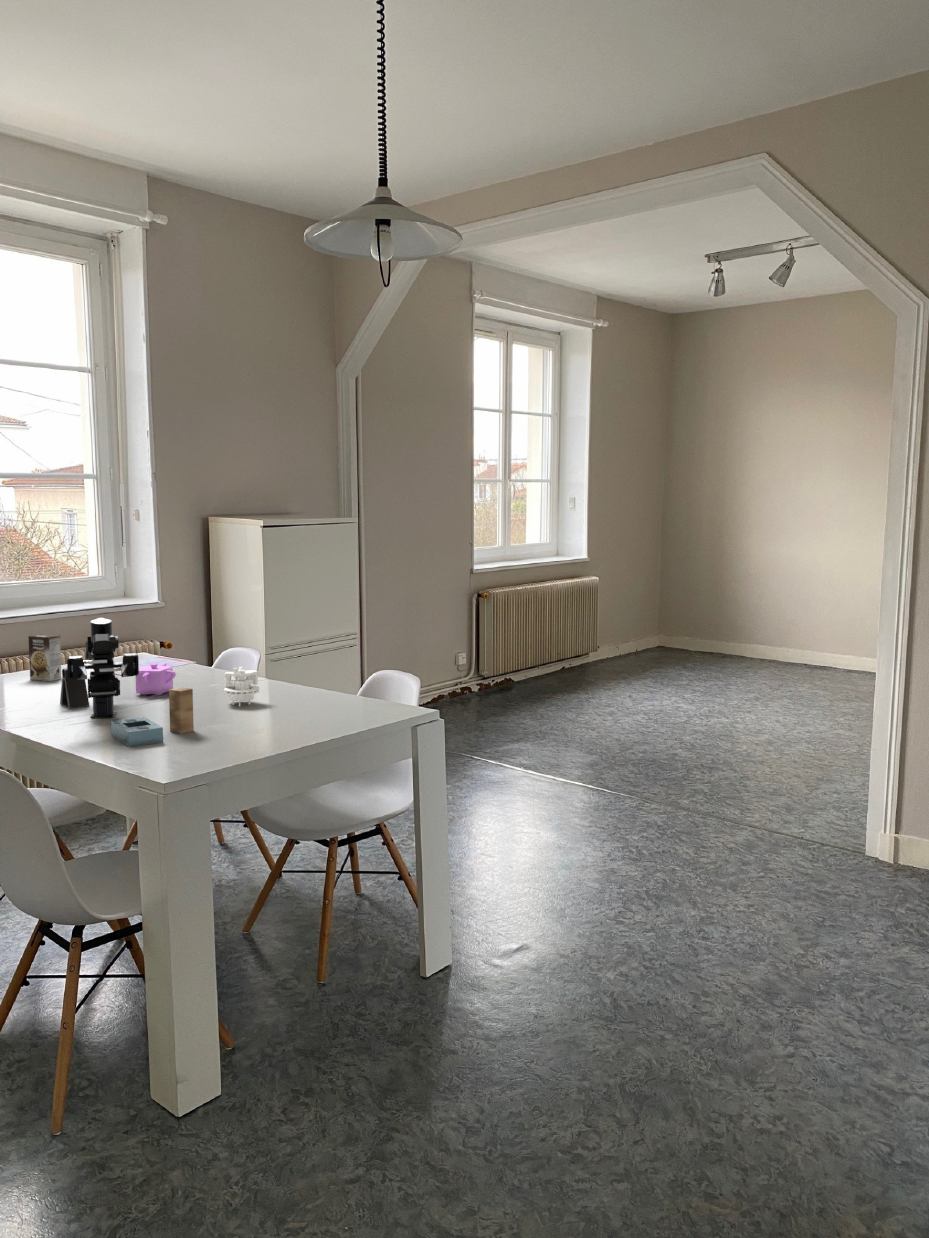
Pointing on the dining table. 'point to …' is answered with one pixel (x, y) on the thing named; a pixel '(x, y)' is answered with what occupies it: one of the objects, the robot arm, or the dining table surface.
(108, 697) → the robot arm
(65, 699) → the phone stand
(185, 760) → the dining table surface
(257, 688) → the mechanical part
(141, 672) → the teapot
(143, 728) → the socket block
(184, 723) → the wooden square peg
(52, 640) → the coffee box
